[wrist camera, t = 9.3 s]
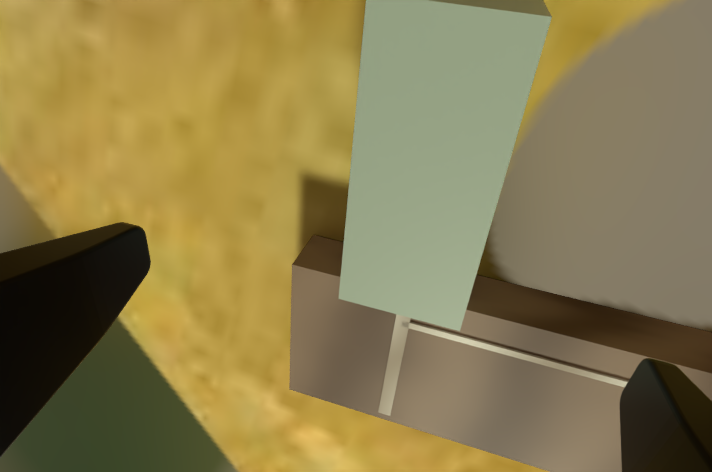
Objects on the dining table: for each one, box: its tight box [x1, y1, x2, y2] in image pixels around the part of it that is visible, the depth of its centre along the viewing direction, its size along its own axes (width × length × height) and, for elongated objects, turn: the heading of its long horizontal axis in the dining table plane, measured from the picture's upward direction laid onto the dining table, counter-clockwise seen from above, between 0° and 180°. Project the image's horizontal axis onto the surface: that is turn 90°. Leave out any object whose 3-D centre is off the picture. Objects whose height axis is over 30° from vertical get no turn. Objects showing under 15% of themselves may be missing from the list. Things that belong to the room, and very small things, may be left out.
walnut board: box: [290, 235, 712, 472], centre depth 21 cm, size 22×8×3 cm, turn 86°
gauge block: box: [338, 0, 552, 331], centre depth 15 cm, size 4×9×6 cm, turn 176°
